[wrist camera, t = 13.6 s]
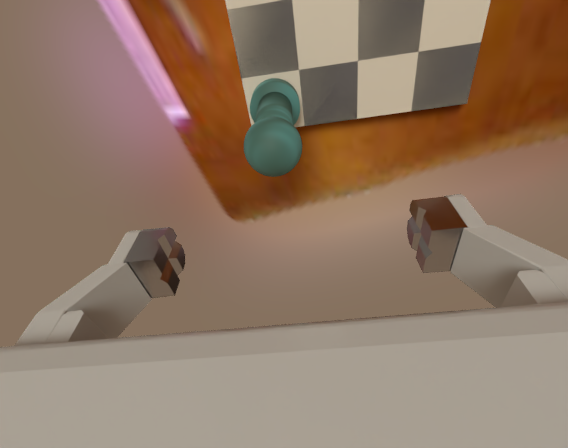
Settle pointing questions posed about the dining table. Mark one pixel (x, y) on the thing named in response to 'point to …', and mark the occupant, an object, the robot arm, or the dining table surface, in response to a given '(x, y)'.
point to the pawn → (273, 128)
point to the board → (360, 53)
